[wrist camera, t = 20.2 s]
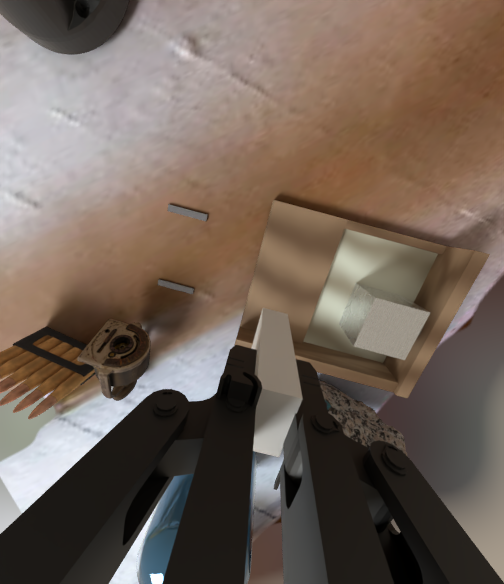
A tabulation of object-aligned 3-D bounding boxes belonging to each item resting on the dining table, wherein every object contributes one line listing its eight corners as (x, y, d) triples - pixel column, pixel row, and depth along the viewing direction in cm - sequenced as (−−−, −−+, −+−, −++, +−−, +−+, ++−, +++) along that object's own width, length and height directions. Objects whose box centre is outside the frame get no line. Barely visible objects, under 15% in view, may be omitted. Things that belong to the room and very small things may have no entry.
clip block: (375, 297, 25) (444, 316, 25) (355, 282, 30) (411, 298, 30) (353, 346, 26) (417, 363, 26) (338, 323, 32) (391, 338, 32)
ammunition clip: (110, 355, 37) (38, 416, 25) (107, 364, 37) (35, 428, 26) (46, 326, 36) (-58, 375, 25) (43, 335, 37) (-59, 388, 25)
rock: (296, 444, 29) (312, 427, 27) (306, 389, 36) (319, 372, 34) (396, 499, 27) (421, 485, 25) (385, 430, 35) (404, 414, 32)
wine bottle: (168, 448, 42) (-55, 943, 13) (211, 404, 38) (31, 956, 10) (228, 487, 43) (147, 1001, 15) (275, 448, 40) (286, 1030, 11)
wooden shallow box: (273, 200, 28) (273, 196, 24) (453, 248, 28) (489, 254, 24) (238, 333, 34) (232, 351, 29) (388, 373, 34) (407, 398, 29)
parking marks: (169, 204, 29) (168, 204, 29) (207, 214, 29) (207, 214, 29) (158, 284, 33) (157, 284, 32) (193, 293, 33) (192, 294, 32)
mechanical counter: (168, 311, 34) (128, 347, 24) (170, 385, 38) (136, 441, 28) (120, 306, 34) (62, 339, 25) (127, 379, 38) (78, 433, 28)
